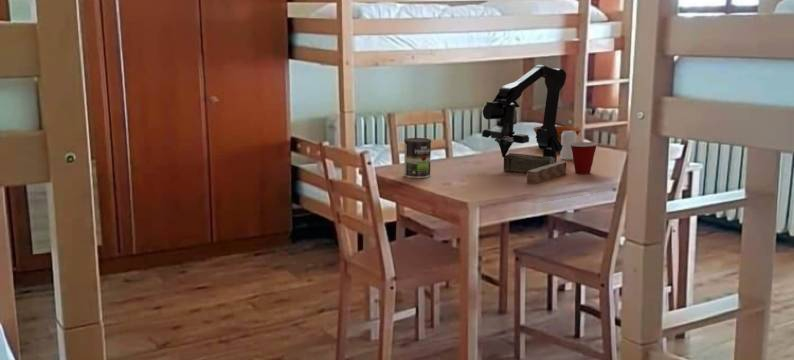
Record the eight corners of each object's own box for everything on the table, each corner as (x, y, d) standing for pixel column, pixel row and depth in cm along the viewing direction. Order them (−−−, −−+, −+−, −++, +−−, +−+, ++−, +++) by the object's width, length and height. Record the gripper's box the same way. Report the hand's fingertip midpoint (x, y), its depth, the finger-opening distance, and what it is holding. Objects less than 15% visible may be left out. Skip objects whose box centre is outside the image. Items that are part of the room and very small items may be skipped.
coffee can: (435, 177, 313) (436, 140, 310) (411, 179, 308) (412, 142, 305) (422, 172, 322) (422, 136, 319) (399, 174, 317) (399, 138, 314)
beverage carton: (549, 175, 316) (550, 159, 315) (502, 171, 324) (502, 155, 323) (554, 172, 323) (555, 155, 322) (508, 167, 331) (508, 151, 330)
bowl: (537, 144, 388) (538, 123, 386) (583, 147, 380) (584, 126, 378) (528, 151, 369) (529, 129, 366) (575, 154, 361) (576, 132, 359)
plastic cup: (578, 168, 330) (579, 139, 327) (601, 172, 322) (603, 142, 319) (562, 172, 322) (564, 142, 320) (586, 176, 315) (587, 146, 312)
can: (577, 158, 352) (579, 130, 350) (572, 160, 347) (573, 132, 344) (563, 156, 356) (565, 129, 353) (558, 159, 350) (559, 131, 348)
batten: (559, 172, 323) (559, 161, 322) (565, 173, 321) (566, 162, 320) (526, 183, 303) (527, 171, 302) (533, 184, 301) (534, 172, 300)
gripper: (475, 117, 321) (472, 155, 325) (516, 123, 310) (513, 163, 313) (491, 114, 330) (488, 152, 333) (531, 121, 318) (527, 160, 322)
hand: (503, 157), depth 325 cm, fingers closed
